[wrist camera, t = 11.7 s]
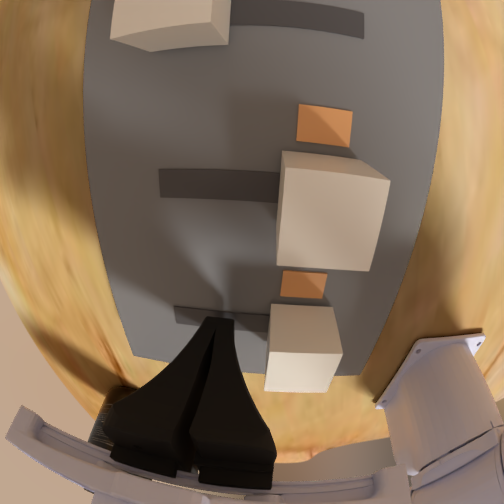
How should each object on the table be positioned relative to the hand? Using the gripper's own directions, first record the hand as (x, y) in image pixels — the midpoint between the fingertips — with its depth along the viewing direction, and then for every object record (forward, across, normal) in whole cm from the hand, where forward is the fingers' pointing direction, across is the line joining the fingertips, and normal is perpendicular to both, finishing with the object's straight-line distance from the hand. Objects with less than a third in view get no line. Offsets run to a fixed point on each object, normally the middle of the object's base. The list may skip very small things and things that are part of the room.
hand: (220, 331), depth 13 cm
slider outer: (+1, +1, -14) cm, 14 cm away
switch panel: (+3, -1, -7) cm, 8 cm away
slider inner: (+1, -4, 0) cm, 4 cm away
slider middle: (+1, -4, -7) cm, 8 cm away
